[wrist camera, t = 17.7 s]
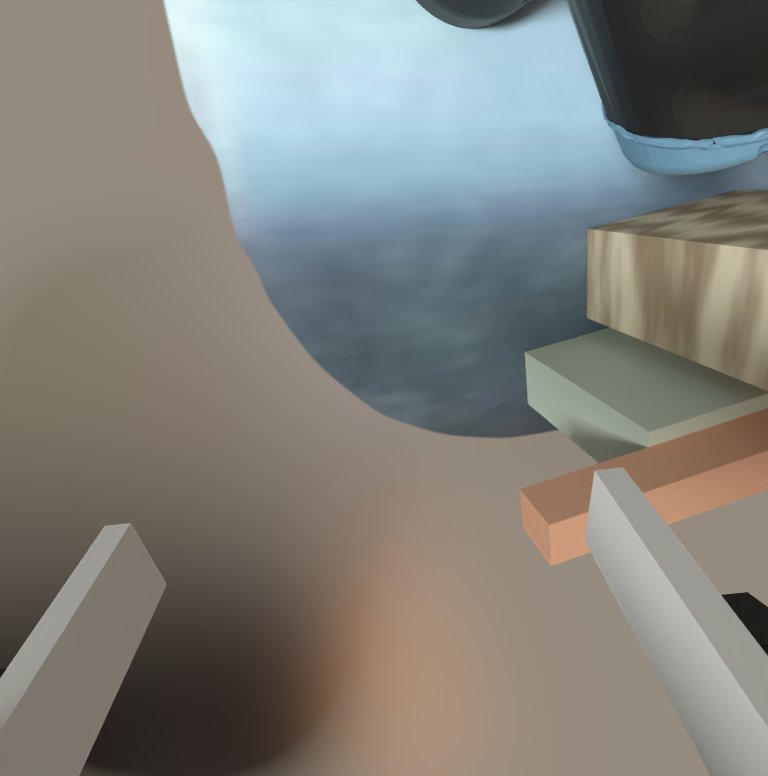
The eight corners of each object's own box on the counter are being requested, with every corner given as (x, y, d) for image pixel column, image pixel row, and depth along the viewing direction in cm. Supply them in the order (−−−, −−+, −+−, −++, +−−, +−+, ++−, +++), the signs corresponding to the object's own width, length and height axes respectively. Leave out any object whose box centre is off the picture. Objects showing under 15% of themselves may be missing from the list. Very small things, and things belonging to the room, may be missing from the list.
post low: (528, 403, 54) (643, 500, 37) (524, 352, 51) (649, 432, 34) (628, 372, 55) (784, 452, 38) (631, 320, 52) (801, 382, 35)
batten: (523, 527, 35) (550, 566, 31) (519, 489, 33) (549, 525, 30) (816, 427, 38) (872, 452, 35) (828, 387, 36) (888, 409, 33)
